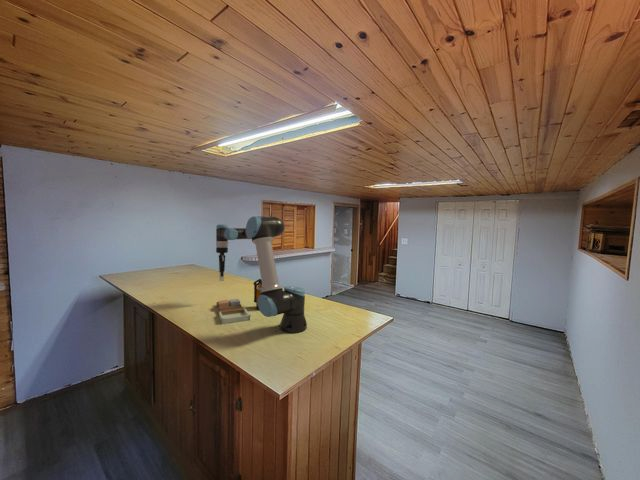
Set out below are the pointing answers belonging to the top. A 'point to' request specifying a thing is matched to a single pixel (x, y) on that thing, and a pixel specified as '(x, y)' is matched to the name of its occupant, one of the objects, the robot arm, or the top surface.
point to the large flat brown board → (230, 309)
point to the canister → (257, 291)
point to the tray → (234, 317)
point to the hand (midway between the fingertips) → (221, 280)
